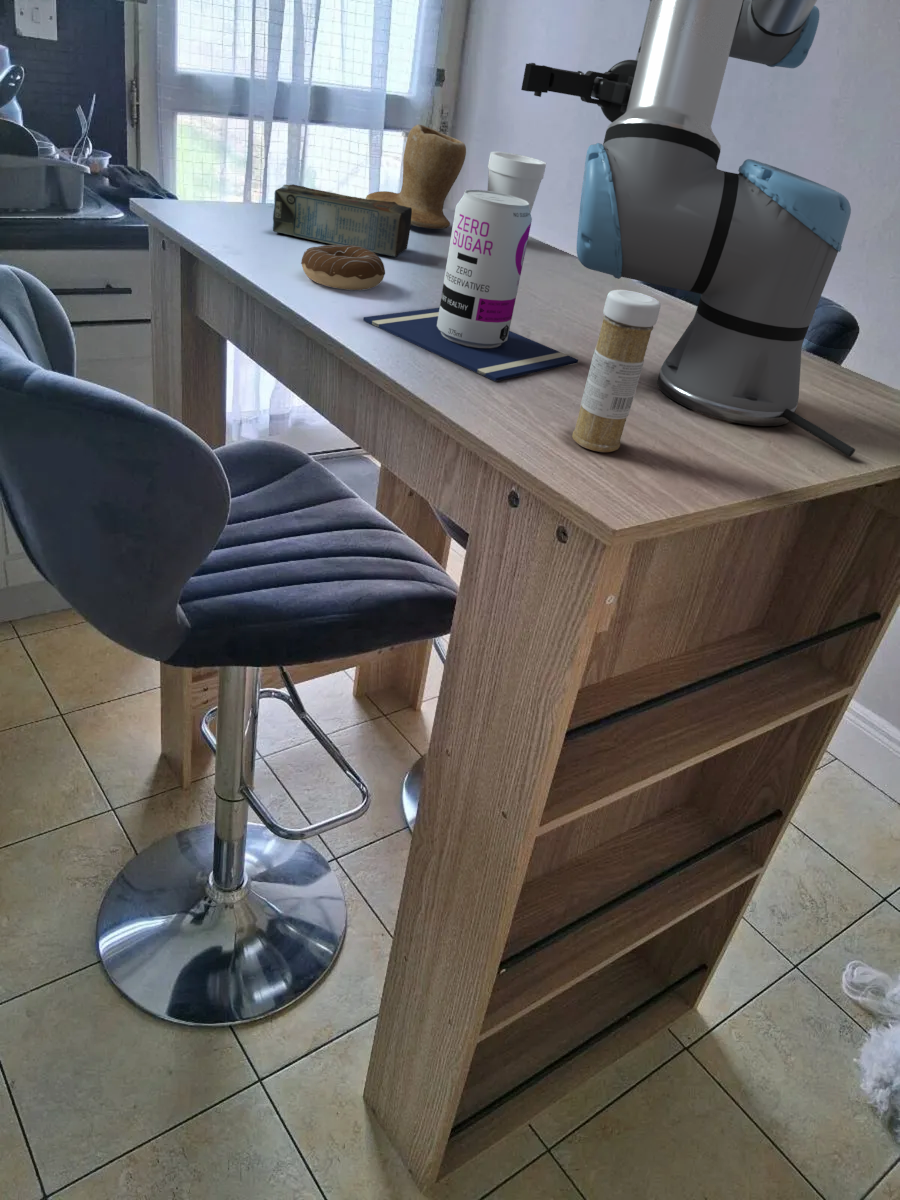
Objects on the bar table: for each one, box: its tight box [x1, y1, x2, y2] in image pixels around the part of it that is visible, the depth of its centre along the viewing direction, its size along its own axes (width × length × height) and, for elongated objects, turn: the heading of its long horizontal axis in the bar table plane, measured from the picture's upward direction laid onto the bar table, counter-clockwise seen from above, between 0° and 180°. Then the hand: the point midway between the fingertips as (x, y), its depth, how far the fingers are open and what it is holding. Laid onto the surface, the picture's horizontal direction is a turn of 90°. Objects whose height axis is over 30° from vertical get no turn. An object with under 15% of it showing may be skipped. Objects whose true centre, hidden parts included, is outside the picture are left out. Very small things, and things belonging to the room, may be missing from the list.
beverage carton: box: [272, 183, 412, 258], centre depth 132 cm, size 8×19×7 cm, turn 81°
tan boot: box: [365, 124, 467, 230], centre depth 151 cm, size 15×12×15 cm
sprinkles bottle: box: [571, 289, 661, 453], centre depth 79 cm, size 5×5×13 cm
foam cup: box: [487, 151, 547, 213], centre depth 152 cm, size 10×9×13 cm
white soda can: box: [437, 188, 533, 348], centre depth 98 cm, size 8×8×15 cm
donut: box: [300, 244, 386, 291], centre depth 113 cm, size 11×11×4 cm
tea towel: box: [362, 307, 579, 382], centre depth 102 cm, size 20×15×1 cm
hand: (580, 89), depth 102 cm, fingers open, 13 cm apart
